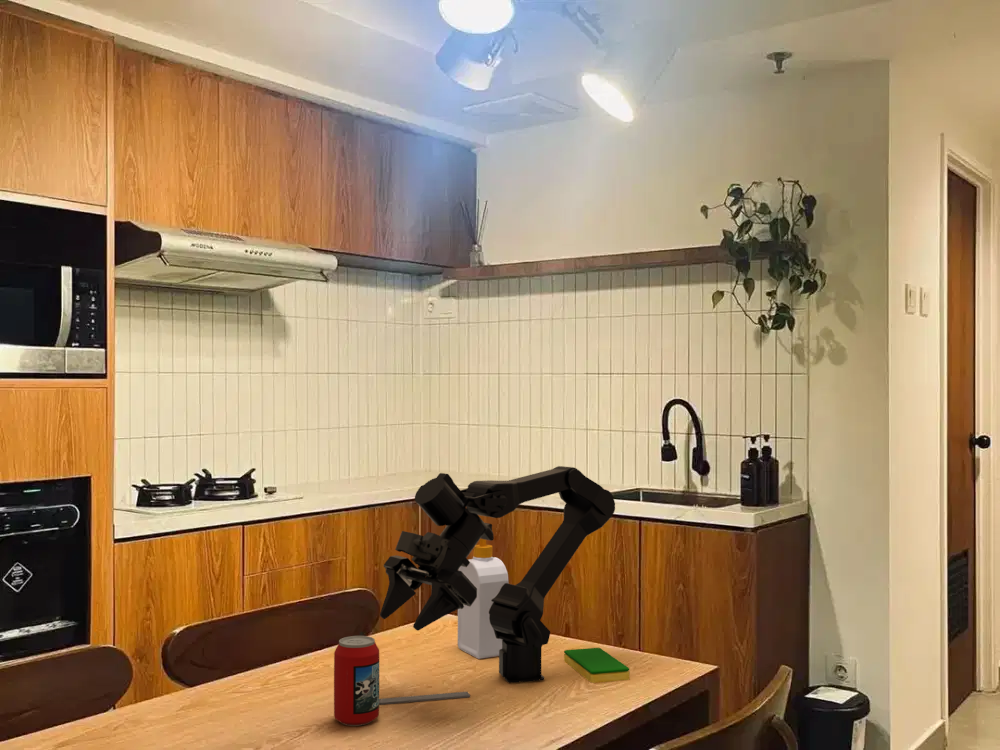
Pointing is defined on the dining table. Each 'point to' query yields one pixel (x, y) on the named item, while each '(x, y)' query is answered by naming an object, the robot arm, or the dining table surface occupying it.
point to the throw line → (423, 698)
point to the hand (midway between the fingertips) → (398, 623)
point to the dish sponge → (596, 665)
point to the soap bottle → (481, 603)
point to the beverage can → (356, 680)
